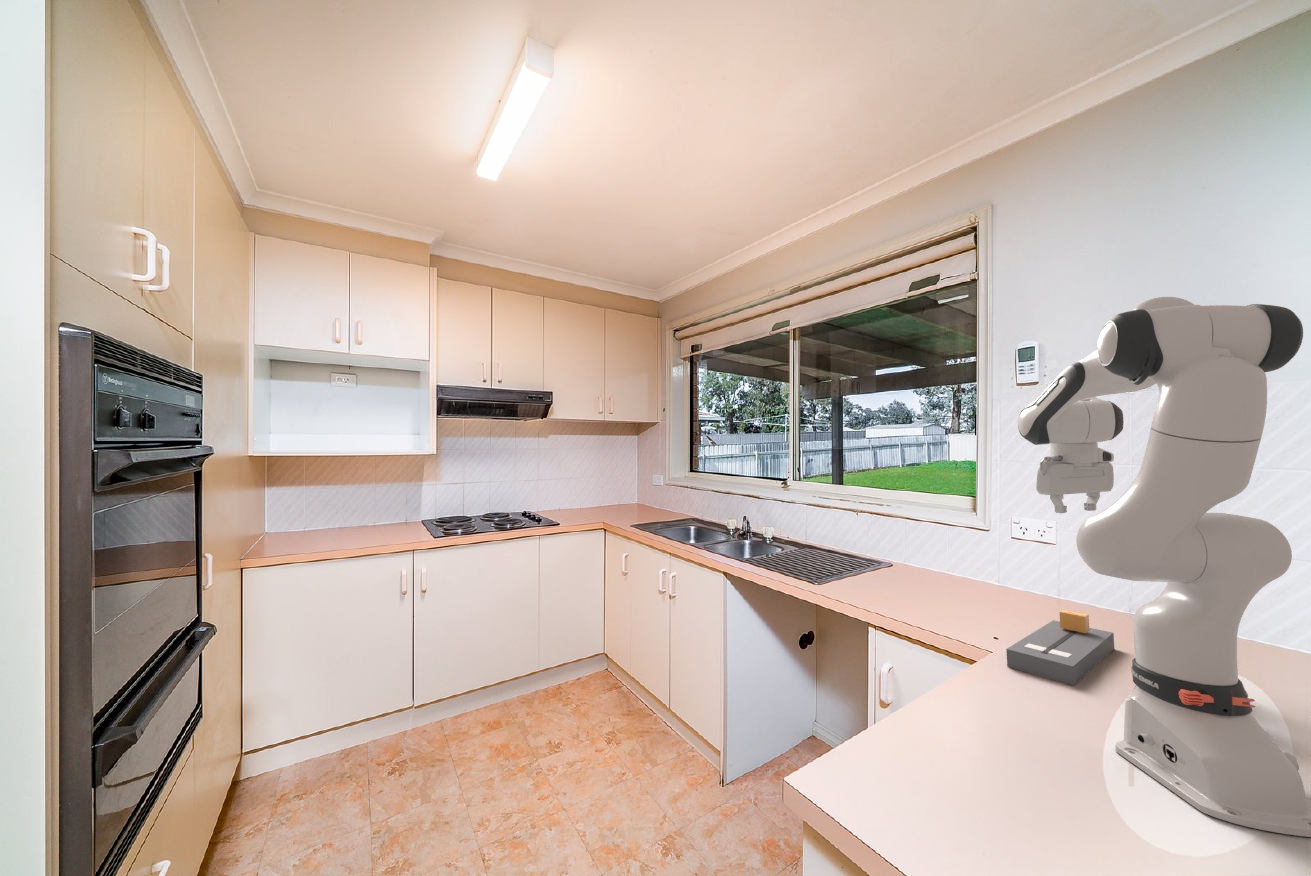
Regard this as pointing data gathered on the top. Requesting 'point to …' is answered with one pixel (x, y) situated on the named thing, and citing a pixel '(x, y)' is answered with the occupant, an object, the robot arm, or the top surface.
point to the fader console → (1060, 652)
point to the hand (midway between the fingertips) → (1075, 511)
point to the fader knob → (1074, 621)
